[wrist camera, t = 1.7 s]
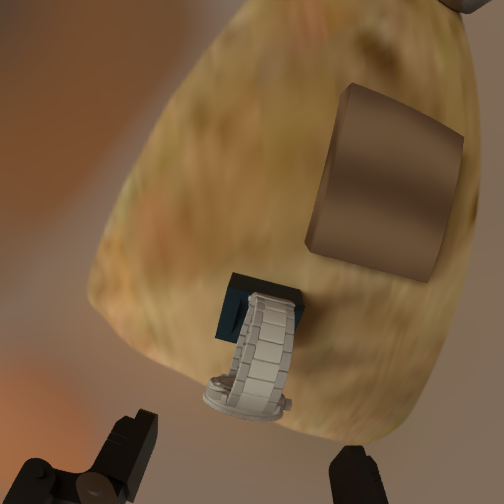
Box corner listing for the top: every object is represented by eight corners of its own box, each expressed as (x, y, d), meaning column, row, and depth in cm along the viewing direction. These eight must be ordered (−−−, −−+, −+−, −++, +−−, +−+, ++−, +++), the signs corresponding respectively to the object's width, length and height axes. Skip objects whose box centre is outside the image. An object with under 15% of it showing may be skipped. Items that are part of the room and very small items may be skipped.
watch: (216, 337, 24) (187, 433, 13) (238, 251, 21) (212, 320, 11) (278, 352, 24) (282, 452, 13) (307, 269, 22) (341, 349, 11)
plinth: (340, 94, 18) (352, 82, 15) (444, 139, 18) (464, 137, 15) (304, 242, 21) (310, 252, 18) (411, 271, 21) (427, 283, 18)
